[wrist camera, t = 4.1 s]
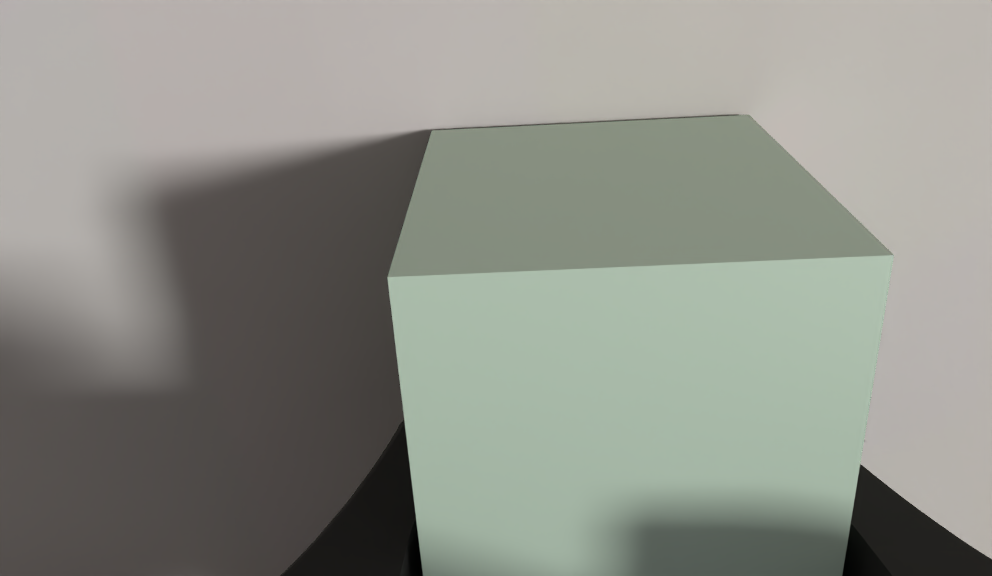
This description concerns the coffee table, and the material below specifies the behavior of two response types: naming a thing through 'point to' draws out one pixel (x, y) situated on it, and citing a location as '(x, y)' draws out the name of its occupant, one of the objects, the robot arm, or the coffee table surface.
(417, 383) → the pale green rectangular block
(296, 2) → the coffee table surface
